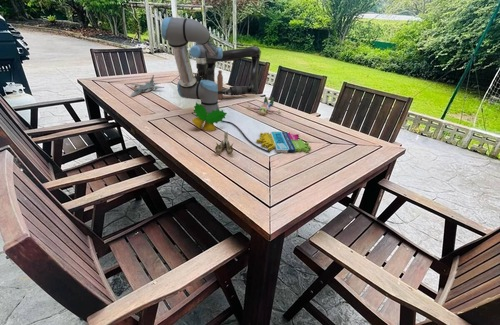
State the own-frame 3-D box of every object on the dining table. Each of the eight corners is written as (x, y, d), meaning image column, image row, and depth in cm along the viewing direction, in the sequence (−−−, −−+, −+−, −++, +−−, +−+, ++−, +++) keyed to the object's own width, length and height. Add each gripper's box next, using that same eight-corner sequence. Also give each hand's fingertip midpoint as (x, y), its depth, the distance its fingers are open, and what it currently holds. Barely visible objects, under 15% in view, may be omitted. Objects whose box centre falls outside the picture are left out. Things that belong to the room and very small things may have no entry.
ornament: (218, 133, 171) (224, 110, 169) (221, 134, 163) (227, 111, 161) (186, 125, 162) (192, 101, 160) (189, 126, 155) (195, 101, 153)
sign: (313, 150, 142) (258, 149, 139) (312, 153, 143) (258, 152, 140) (301, 132, 164) (254, 130, 161) (301, 134, 165) (254, 133, 162)
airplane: (124, 86, 238) (122, 75, 233) (160, 84, 251) (158, 74, 246) (129, 99, 209) (126, 86, 204) (168, 96, 223) (167, 84, 217)
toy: (286, 98, 212) (281, 108, 186) (285, 107, 216) (280, 118, 190) (253, 94, 217) (244, 103, 191) (252, 103, 221) (243, 112, 195)
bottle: (220, 99, 222) (220, 71, 210) (216, 98, 224) (216, 70, 213) (223, 98, 225) (224, 70, 214) (219, 97, 227) (219, 70, 216)
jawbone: (234, 135, 144) (233, 125, 135) (233, 160, 138) (232, 151, 129) (217, 135, 144) (216, 125, 135) (216, 160, 138) (214, 150, 129)
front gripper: (198, 65, 190) (199, 97, 201) (211, 62, 203) (212, 92, 215) (190, 63, 193) (191, 95, 204) (204, 61, 206) (204, 91, 217)
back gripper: (232, 84, 231) (214, 85, 224) (238, 88, 220) (219, 89, 213) (232, 93, 234) (214, 94, 228) (238, 97, 223) (219, 98, 217)
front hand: (202, 93), depth 209 cm, fingers closed on cap, 4 cm apart
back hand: (216, 91), depth 220 cm, fingers closed on bottle, 4 cm apart
